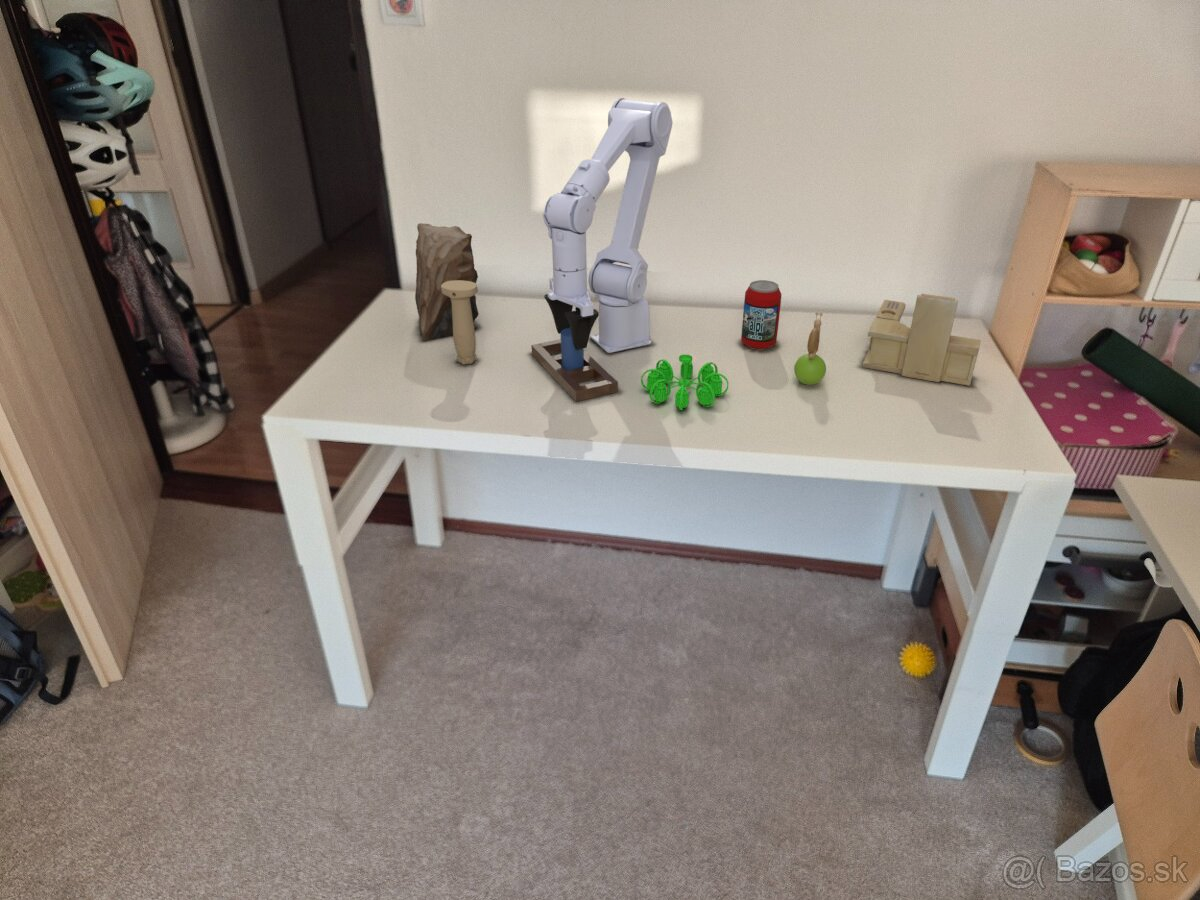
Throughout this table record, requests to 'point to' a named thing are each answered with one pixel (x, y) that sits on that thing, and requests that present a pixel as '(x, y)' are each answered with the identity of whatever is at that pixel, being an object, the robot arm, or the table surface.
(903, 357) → the toy kitchen set
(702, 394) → the chandelier
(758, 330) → the beverage can
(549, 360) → the peg board
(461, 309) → the handle
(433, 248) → the brown rock
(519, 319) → the table surface
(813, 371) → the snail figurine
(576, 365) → the peg
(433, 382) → the table surface
